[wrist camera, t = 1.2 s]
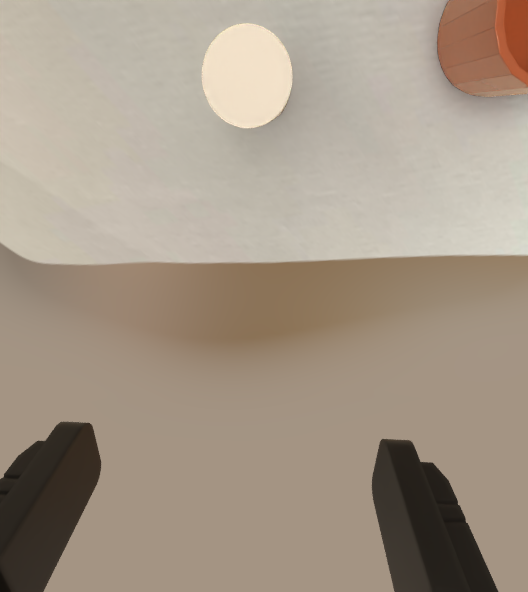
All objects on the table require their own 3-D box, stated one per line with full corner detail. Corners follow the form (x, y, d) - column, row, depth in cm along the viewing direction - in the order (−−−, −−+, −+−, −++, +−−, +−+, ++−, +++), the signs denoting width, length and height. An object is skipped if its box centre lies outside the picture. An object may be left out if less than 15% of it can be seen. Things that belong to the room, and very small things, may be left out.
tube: (290, 118, 32) (295, 123, 18) (240, 124, 32) (209, 132, 19) (286, 60, 30) (289, 17, 17) (234, 66, 30) (194, 29, 17)
